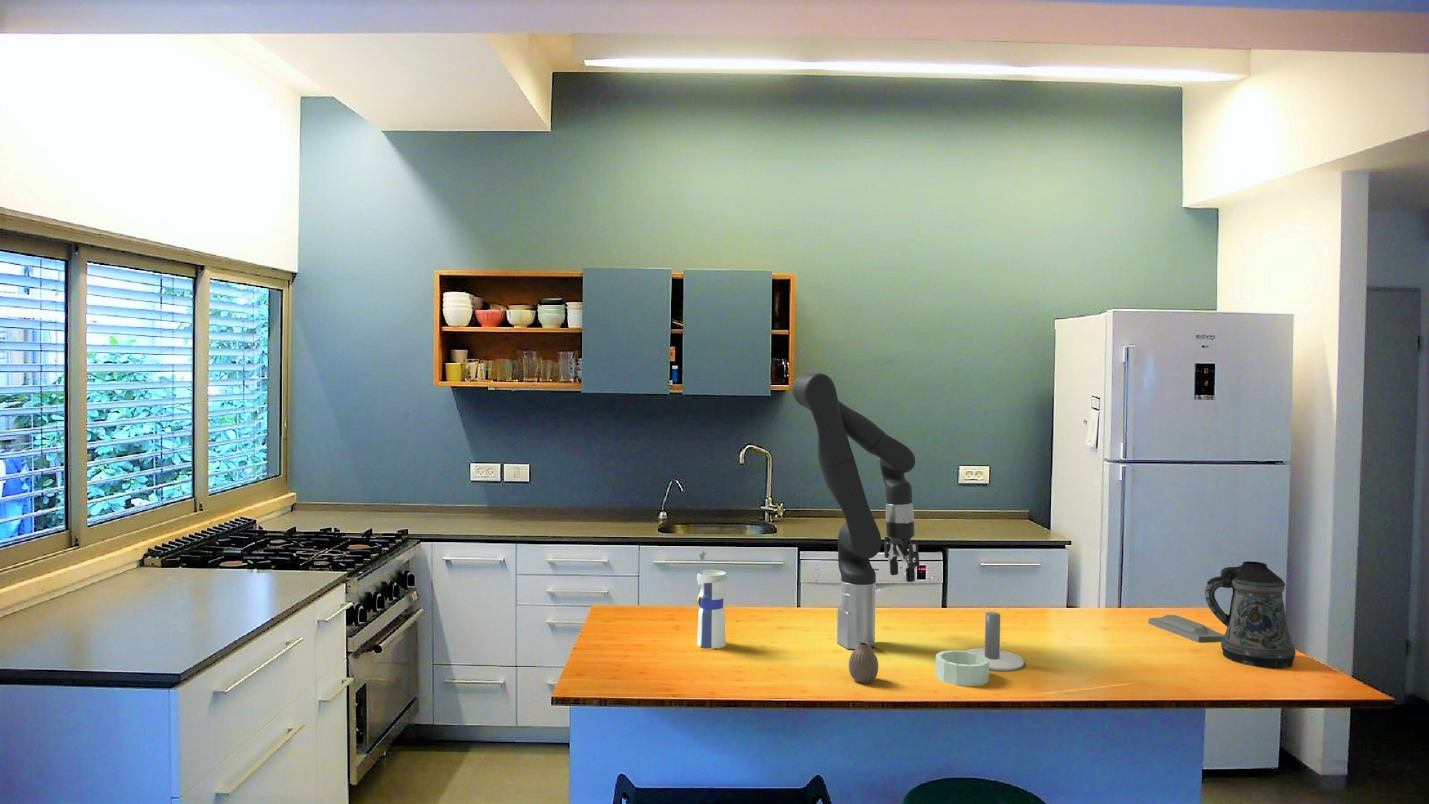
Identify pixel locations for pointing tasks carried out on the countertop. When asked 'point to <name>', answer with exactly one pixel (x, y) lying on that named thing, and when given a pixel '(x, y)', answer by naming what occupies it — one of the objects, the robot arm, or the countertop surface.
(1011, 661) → the lid
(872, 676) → the vase
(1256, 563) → the beer stein
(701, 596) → the water bottle
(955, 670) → the bowl
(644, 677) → the countertop surface
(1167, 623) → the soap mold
